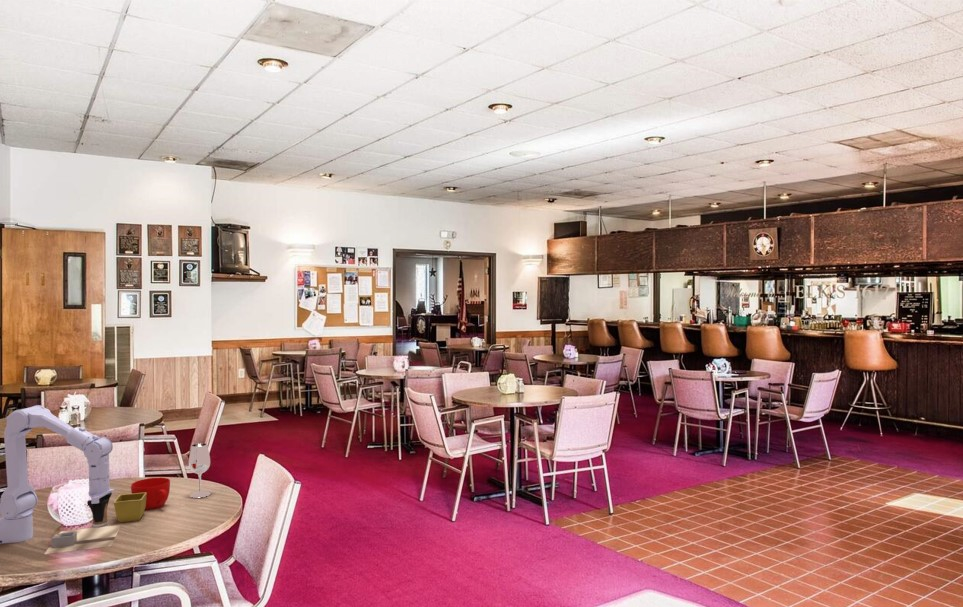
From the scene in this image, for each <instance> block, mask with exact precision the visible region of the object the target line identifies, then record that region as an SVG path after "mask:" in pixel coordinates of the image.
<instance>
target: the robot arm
mask: <svg viewBox="0 0 963 607" xmlns="http://www.w3.org/2000/svg"><path fill="white" fill-rule="evenodd" d="M34 428H45V429H48V430H50V431H52V432H54V433H56V434H58V435H60V436H63V437H65V441H66V443H67V444H69V445H71V446H72V447H74V448H76V449H78V450H80V451H81V452H83V454H84V457H85V458H86V460H87V461H86V462H87V464H88V496H89V498H90V499H88V500H87V501H86V503H87V506H88V508H90V511H91V513H92V519H93V518H94V521H95V522H102V521H103V518H104V511H105V506H106V503H107V507H108V506H109V501H110V498H111V496H112V495H113V493H114V492H115V488H111V485H110V484H111V483H110V481H111V480H110V453H111V452H112V451H113V448H114V446H113V442H112V440H110V439H109V438H108V437H107V436H102V437H99V436H98V435H97V434H94V433H92V432H90V431H87V430H86V427H83V426H81V427H80V426H76V427H73V426H71V425H70V424H69V423H66V422H65V421H63V420H62V419H60V418H59V417H58V416H55V415H54V414H53V413H52V412H51V410H50V409H49V408H45V407H44V406H43V405H39V404H36V405H33V406H30V407H27V408H21V409H16V410H13V411H12V412H11V413H10V414H8V416H6V426H5V429H4V431H3V436H4V437H3V438H4V440H3V441H4V452H5V468H6V483H7V484H6V485H7V487H6V489H5V490H4V491H3V493H2V494H1V495H0V515H1V516H0V545H1V544H9V543H11V544H13V543H21V542H25V541H28V540H30V539H32V538H33V537H34V526H33V525H34V522H33V521H34V520H33V519H34V517H33V512H34V511H35V510H34V509H35V508H36V507H37V505H38V502H39V500H38V499H39V498H38V496H37V493H36V492H35V491H36V490H35V487H34V486H33V485H32V484H30V483H29V475H28V474H29V473H28V472H29V471H28V460H27V458H28V457H27V444H26V443H27V442H26V435H28V434H29V433H30V432H31V431H32V430H33V429H34Z"/></svg>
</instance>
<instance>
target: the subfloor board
mask: <svg viewBox="0 0 963 607" xmlns="http://www.w3.org/2000/svg"><path fill="white" fill-rule="evenodd" d="M121 527H122V524H115V525H107V526H104V527H100V528H93V527H89V528H81V529H71V530H63V531H62V530H61V531H60V532H59V533H68V532H76V531H77V542H76V543H75V545H73V546H65V547H56V548H52V543H51V544H50V545H49V547H48V548H47V549H46V551H45V552H44V553H43V555H51V554H60V553H67V552H75V551H83V550H84V551H86V550H92V549H100V548H107V547H112V545H113V543H114V541H115V539H116V537H117V535H118V533H119V530H120V529H121Z"/></svg>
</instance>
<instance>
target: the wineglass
mask: <svg viewBox="0 0 963 607" xmlns="http://www.w3.org/2000/svg"><path fill="white" fill-rule="evenodd" d="M210 466H211V456H210V451H209V447H208V444H207V443H206V442H205V443H203V442H200V443H193V444H192V445H191V446H190V451H189V458H188V468H189V469H190V471H191V472H192V473H194V474H197V475H198V491H197V492H192V493H191V494H189V498H191V497H193V498H192V499H201V497H203V498H206V496H207V497H209V496H210V495H211V492H210V491H202V474H203V473H205V472H207V471H208V470H209V468H210Z"/></svg>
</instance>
